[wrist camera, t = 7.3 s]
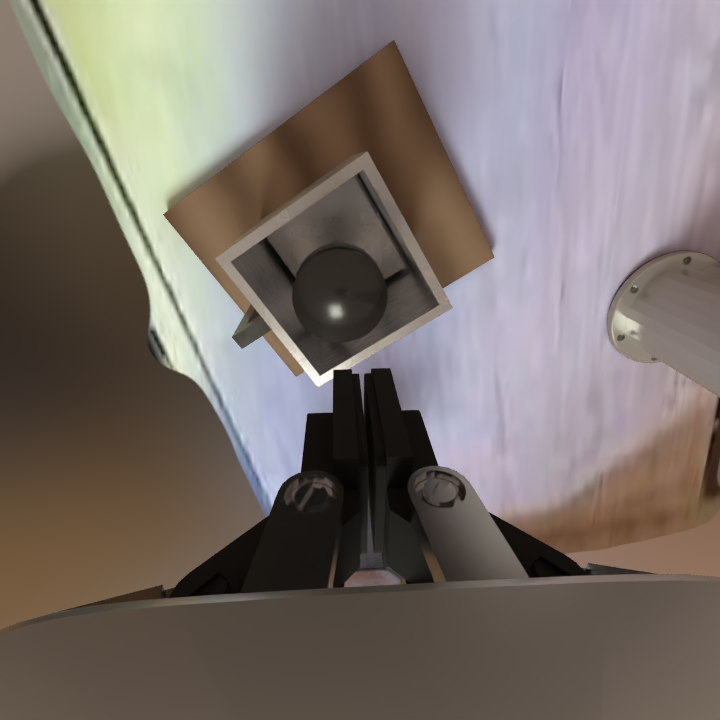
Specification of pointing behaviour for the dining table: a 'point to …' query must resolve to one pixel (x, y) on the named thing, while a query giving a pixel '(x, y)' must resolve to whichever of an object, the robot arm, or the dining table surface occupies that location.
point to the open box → (275, 280)
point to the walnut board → (323, 153)
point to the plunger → (338, 264)
